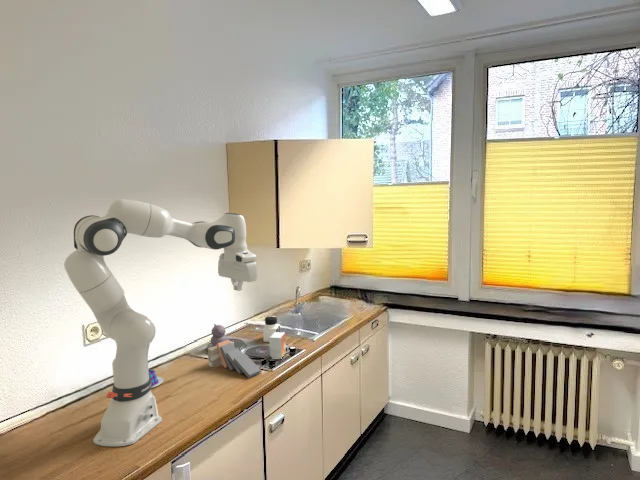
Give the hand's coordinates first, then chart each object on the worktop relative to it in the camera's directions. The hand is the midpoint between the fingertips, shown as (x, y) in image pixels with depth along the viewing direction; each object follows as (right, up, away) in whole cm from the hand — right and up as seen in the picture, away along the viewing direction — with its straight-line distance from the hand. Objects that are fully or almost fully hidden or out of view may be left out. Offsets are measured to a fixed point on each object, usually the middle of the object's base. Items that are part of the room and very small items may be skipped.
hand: (237, 290), depth 173 cm
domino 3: (+5, -37, +14) cm, 39 cm away
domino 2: (0, -36, +18) cm, 40 cm away
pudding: (-39, -40, +10) cm, 56 cm away
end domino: (-7, -36, +24) cm, 44 cm away
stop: (-12, -36, +29) cm, 48 cm away
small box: (+13, -35, +34) cm, 50 cm away
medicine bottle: (+7, -32, +56) cm, 65 cm away
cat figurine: (-17, -34, +45) cm, 59 cm away
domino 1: (-4, -36, +22) cm, 42 cm away
